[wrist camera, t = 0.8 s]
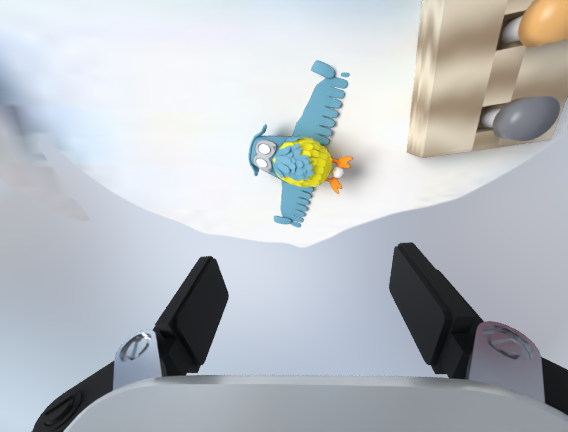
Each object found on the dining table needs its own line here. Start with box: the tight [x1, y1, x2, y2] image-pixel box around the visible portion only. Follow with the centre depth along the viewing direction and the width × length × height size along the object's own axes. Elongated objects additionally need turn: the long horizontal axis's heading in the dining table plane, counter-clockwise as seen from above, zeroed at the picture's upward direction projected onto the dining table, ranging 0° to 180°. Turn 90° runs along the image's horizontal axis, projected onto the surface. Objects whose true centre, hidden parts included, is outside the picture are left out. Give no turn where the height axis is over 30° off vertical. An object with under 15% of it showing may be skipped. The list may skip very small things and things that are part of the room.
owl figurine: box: [249, 60, 353, 227], centre depth 32 cm, size 28×9×15 cm
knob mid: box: [501, 0, 568, 48], centre depth 21 cm, size 4×4×6 cm
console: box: [407, 0, 568, 158], centre depth 25 cm, size 26×16×5 cm, turn 9°
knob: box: [481, 96, 560, 141], centre depth 25 cm, size 4×4×6 cm
